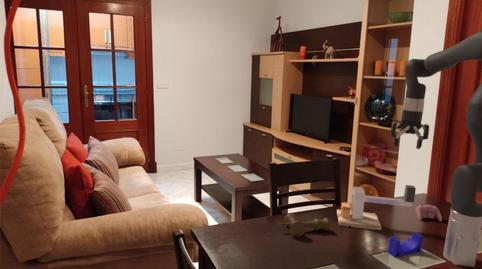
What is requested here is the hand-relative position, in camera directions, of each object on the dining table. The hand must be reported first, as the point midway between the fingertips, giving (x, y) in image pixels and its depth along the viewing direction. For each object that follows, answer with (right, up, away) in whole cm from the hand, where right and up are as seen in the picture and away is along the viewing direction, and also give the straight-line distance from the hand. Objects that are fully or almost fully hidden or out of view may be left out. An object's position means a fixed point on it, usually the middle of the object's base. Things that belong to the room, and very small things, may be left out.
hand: (406, 147), depth 146 cm
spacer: (-26, -29, 0) cm, 38 cm away
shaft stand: (-21, -30, 0) cm, 37 cm away
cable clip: (-13, -36, -23) cm, 44 cm away
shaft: (-10, -23, -4) cm, 25 cm away
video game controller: (+11, -31, +5) cm, 33 cm away
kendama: (-45, -32, -11) cm, 57 cm away
